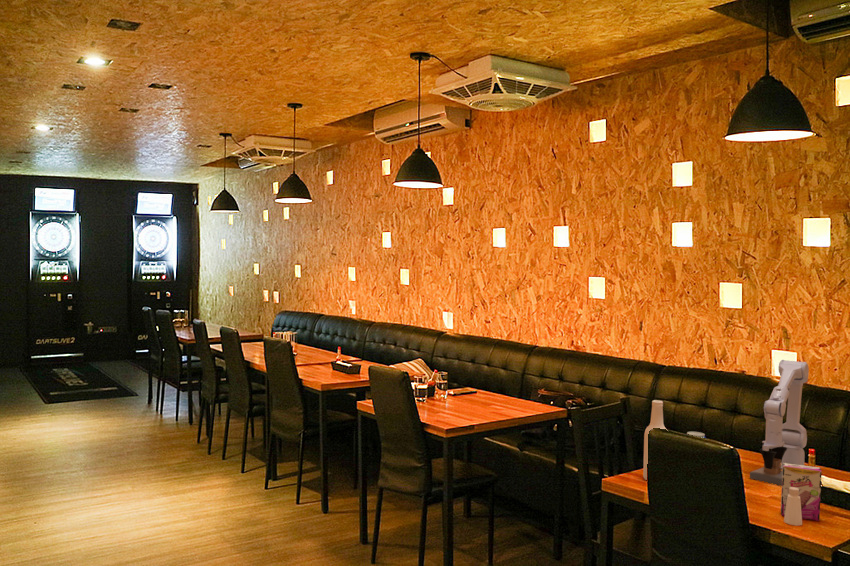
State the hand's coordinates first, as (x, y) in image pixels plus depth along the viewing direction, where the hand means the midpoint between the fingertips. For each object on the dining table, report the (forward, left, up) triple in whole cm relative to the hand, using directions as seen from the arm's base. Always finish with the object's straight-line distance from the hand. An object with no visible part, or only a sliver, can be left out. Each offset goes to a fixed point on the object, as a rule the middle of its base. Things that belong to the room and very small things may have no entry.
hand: (772, 466), depth 268 cm
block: (0, 0, -2) cm, 2 cm away
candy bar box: (+36, +24, -5) cm, 44 cm away
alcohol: (+38, -27, -5) cm, 47 cm away
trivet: (0, 0, -5) cm, 5 cm away
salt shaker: (+44, +25, -5) cm, 51 cm away
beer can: (+18, -22, -5) cm, 29 cm away
